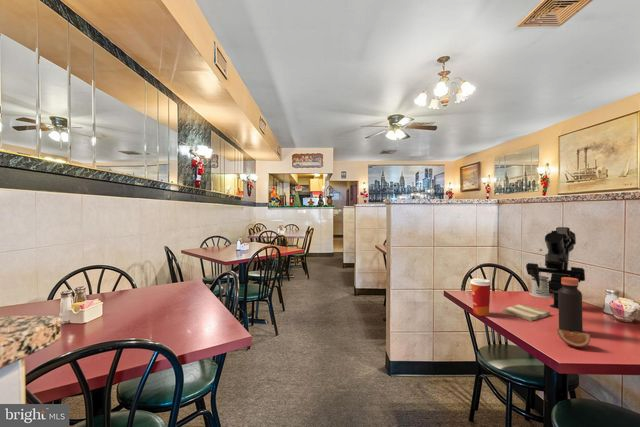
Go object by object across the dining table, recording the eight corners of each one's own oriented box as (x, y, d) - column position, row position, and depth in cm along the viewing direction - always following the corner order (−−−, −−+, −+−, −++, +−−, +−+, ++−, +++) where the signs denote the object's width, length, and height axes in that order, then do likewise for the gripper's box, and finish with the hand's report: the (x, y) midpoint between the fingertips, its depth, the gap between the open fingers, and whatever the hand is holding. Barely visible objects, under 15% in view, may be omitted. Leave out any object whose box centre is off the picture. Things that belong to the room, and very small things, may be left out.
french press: (525, 292, 160) (524, 247, 160) (547, 292, 159) (547, 247, 159) (536, 297, 151) (536, 249, 151) (560, 298, 149) (560, 249, 149)
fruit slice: (558, 346, 97) (558, 331, 97) (556, 339, 103) (556, 325, 103) (592, 353, 92) (592, 337, 92) (588, 344, 98) (588, 330, 98)
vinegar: (554, 330, 110) (553, 277, 110) (565, 327, 113) (564, 275, 113) (576, 337, 104) (575, 281, 104) (586, 333, 106) (586, 279, 106)
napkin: (520, 307, 136) (520, 304, 136) (549, 315, 126) (549, 311, 126) (501, 312, 130) (501, 308, 130) (530, 321, 119) (530, 317, 119)
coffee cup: (474, 309, 134) (473, 277, 134) (494, 313, 129) (493, 279, 129) (467, 314, 129) (467, 280, 129) (488, 318, 123) (487, 283, 123)
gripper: (526, 244, 127) (521, 274, 119) (584, 247, 113) (582, 282, 106) (530, 259, 132) (525, 289, 125) (585, 264, 119) (584, 297, 112)
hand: (552, 289), depth 117 cm, fingers open, 9 cm apart
